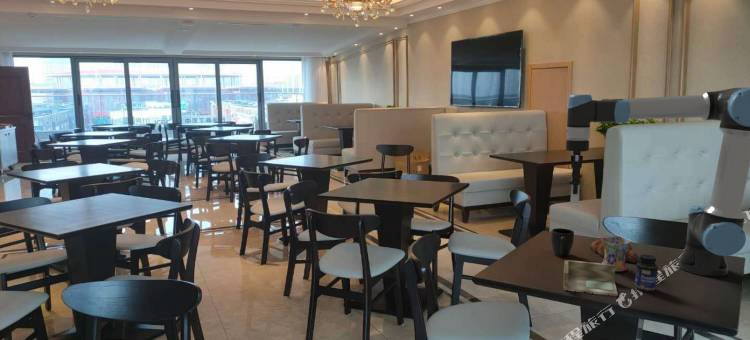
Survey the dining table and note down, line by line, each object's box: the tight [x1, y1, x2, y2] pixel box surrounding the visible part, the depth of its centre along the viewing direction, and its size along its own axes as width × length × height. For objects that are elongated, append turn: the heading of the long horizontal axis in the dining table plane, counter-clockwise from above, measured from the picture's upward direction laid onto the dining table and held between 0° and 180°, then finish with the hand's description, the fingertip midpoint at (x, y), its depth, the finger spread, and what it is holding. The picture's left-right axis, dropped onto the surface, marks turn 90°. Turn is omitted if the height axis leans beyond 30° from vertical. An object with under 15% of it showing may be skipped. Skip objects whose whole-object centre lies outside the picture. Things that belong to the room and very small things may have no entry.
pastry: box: [589, 235, 639, 264], centre depth 208 cm, size 17×15×8 cm
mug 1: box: [550, 227, 575, 258], centre depth 206 cm, size 8×12×10 cm
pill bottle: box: [634, 253, 659, 293], centre depth 173 cm, size 6×6×11 cm
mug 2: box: [601, 236, 631, 273], centre depth 193 cm, size 12×9×11 cm
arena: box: [562, 259, 619, 297], centre depth 176 cm, size 16×14×6 cm
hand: (574, 199), depth 189 cm, fingers open, 13 cm apart
